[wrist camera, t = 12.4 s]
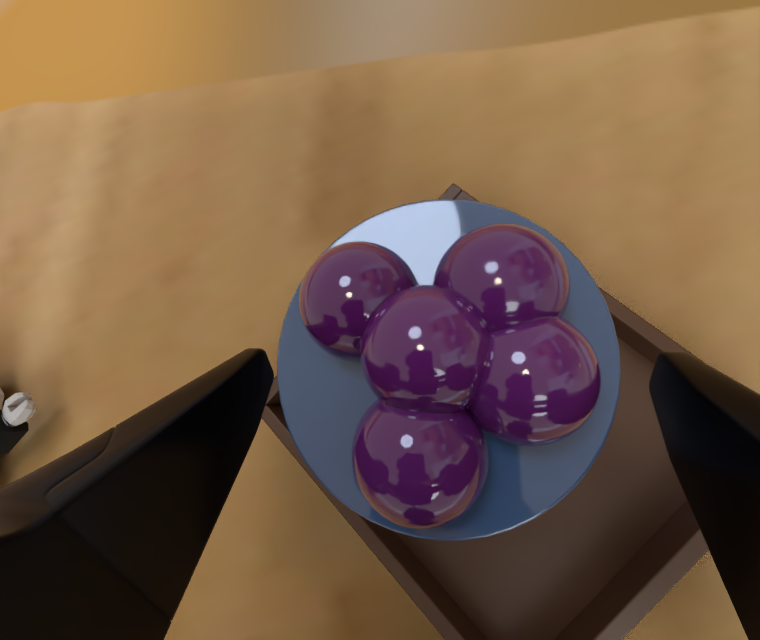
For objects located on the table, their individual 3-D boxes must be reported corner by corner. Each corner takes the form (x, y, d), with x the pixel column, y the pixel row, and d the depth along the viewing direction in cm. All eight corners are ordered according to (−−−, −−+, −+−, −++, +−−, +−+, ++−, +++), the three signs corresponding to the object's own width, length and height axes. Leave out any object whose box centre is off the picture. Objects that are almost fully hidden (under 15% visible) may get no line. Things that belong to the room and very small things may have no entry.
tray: (767, 434, 15) (815, 440, 13) (520, 693, 15) (527, 739, 13) (455, 204, 20) (452, 182, 18) (273, 403, 20) (249, 404, 18)
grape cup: (564, 404, 17) (808, 426, 4) (435, 481, 17) (338, 684, 5) (477, 284, 19) (479, 68, 6) (364, 357, 19) (168, 289, 7)
